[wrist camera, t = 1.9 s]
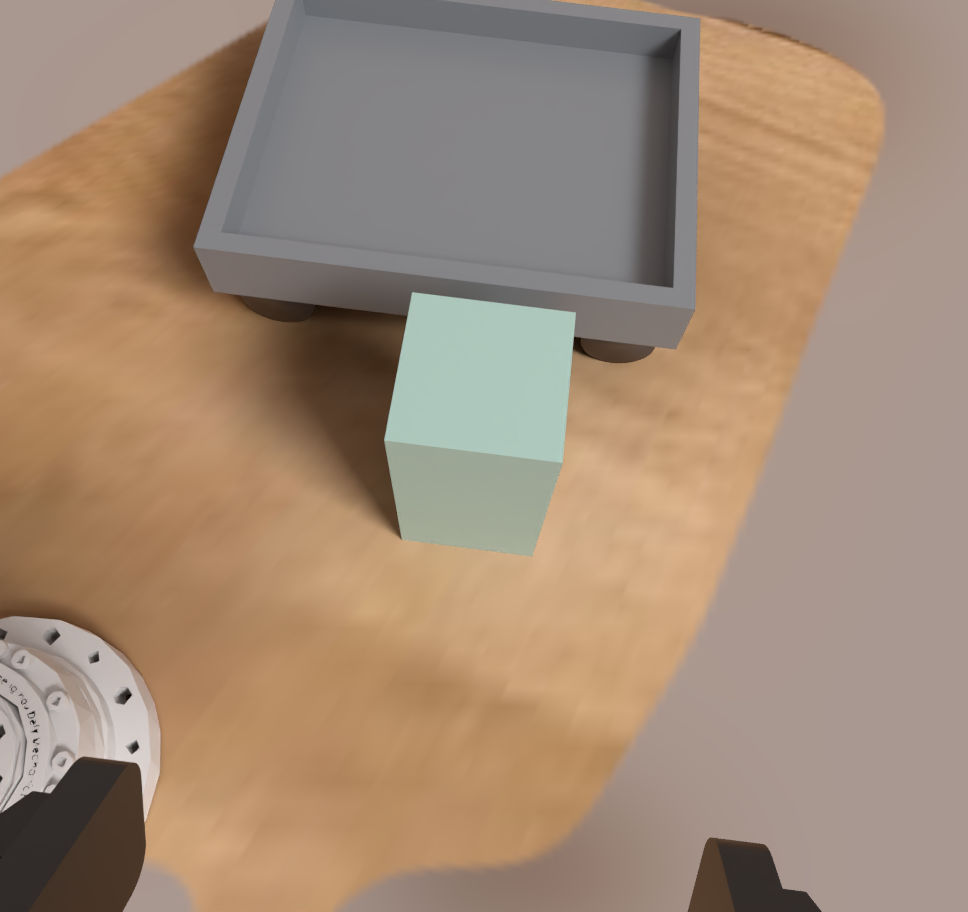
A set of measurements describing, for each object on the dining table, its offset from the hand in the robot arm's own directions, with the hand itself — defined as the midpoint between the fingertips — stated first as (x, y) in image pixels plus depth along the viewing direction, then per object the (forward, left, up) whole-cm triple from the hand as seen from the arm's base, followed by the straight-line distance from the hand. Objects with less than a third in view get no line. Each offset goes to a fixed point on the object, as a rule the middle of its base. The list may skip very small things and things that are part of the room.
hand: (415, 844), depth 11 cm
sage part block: (0, +12, -17) cm, 21 cm away
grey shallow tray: (-2, +25, -17) cm, 30 cm away
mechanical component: (-14, 0, -17) cm, 22 cm away
